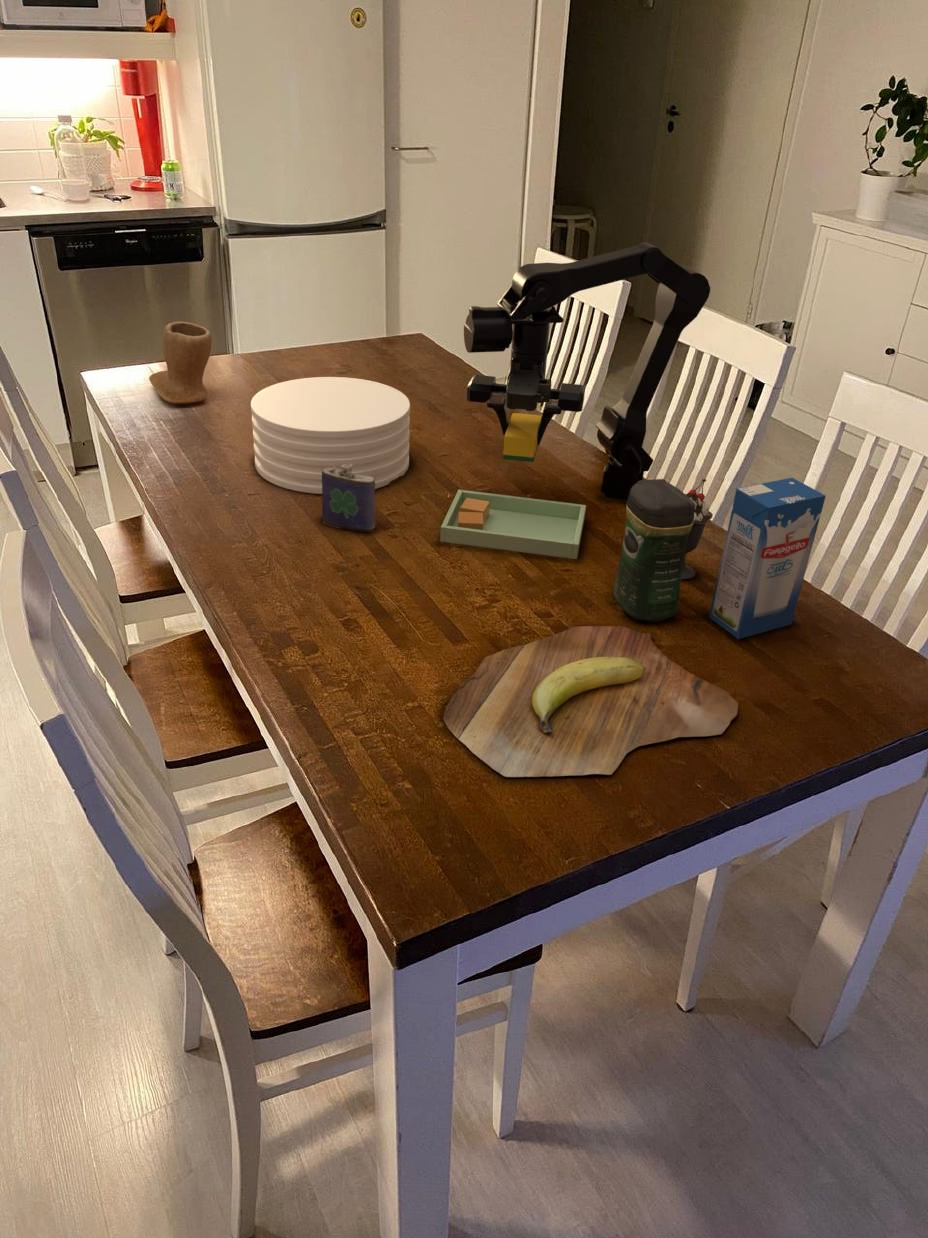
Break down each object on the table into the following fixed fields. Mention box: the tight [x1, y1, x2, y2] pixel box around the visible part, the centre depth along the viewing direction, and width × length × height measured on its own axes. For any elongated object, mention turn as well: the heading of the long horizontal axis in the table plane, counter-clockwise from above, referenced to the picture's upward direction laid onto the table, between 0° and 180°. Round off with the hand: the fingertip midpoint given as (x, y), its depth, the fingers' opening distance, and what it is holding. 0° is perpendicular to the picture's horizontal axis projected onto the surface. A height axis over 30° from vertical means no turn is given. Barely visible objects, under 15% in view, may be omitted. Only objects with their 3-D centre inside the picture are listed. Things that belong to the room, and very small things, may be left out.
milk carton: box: [708, 477, 827, 640], centre depth 133 cm, size 10×6×20 cm, turn 117°
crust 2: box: [458, 512, 484, 530], centre depth 156 cm, size 4×4×2 cm
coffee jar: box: [613, 478, 695, 623], centre depth 135 cm, size 10×8×19 cm
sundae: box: [681, 478, 713, 581], centre depth 146 cm, size 7×7×15 cm
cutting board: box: [442, 625, 739, 778], centre depth 119 cm, size 35×27×4 cm
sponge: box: [502, 412, 542, 463], centre depth 162 cm, size 5×11×4 cm, turn 170°
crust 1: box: [460, 498, 490, 523], centre depth 160 cm, size 4×4×2 cm
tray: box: [439, 489, 587, 560], centre depth 157 cm, size 22×15×3 cm
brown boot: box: [148, 321, 213, 404], centre depth 201 cm, size 15×12×15 cm
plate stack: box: [250, 376, 411, 495], centre depth 176 cm, size 28×28×12 cm
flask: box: [321, 463, 376, 534], centre depth 155 cm, size 9×3×11 cm, turn 68°
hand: (522, 442), depth 162 cm, fingers closed on sponge, 5 cm apart
